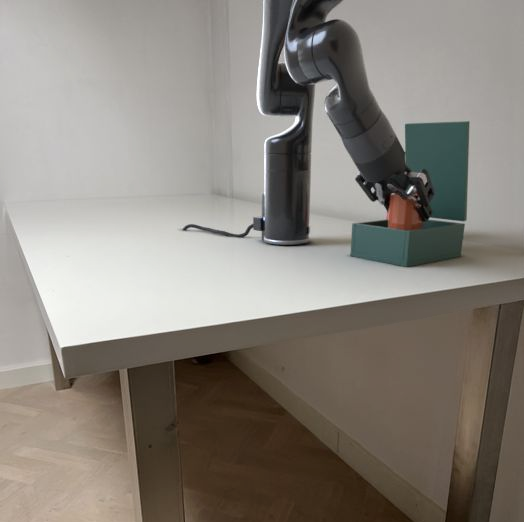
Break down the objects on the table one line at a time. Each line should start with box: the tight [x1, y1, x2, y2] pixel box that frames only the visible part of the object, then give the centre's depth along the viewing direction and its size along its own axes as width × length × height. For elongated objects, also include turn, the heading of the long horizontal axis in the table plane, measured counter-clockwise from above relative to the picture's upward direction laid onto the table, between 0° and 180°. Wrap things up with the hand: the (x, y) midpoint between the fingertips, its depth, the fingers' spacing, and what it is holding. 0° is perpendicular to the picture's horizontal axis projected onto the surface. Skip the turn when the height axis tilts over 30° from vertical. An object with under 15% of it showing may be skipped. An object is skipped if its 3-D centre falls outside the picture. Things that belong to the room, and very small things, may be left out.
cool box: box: [349, 218, 466, 268], centre depth 99 cm, size 16×13×6 cm
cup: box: [387, 194, 424, 231], centre depth 97 cm, size 6×6×8 cm
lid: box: [404, 120, 470, 222], centre depth 100 cm, size 16×13×5 cm
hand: (411, 215), depth 98 cm, fingers closed on cup, 6 cm apart
